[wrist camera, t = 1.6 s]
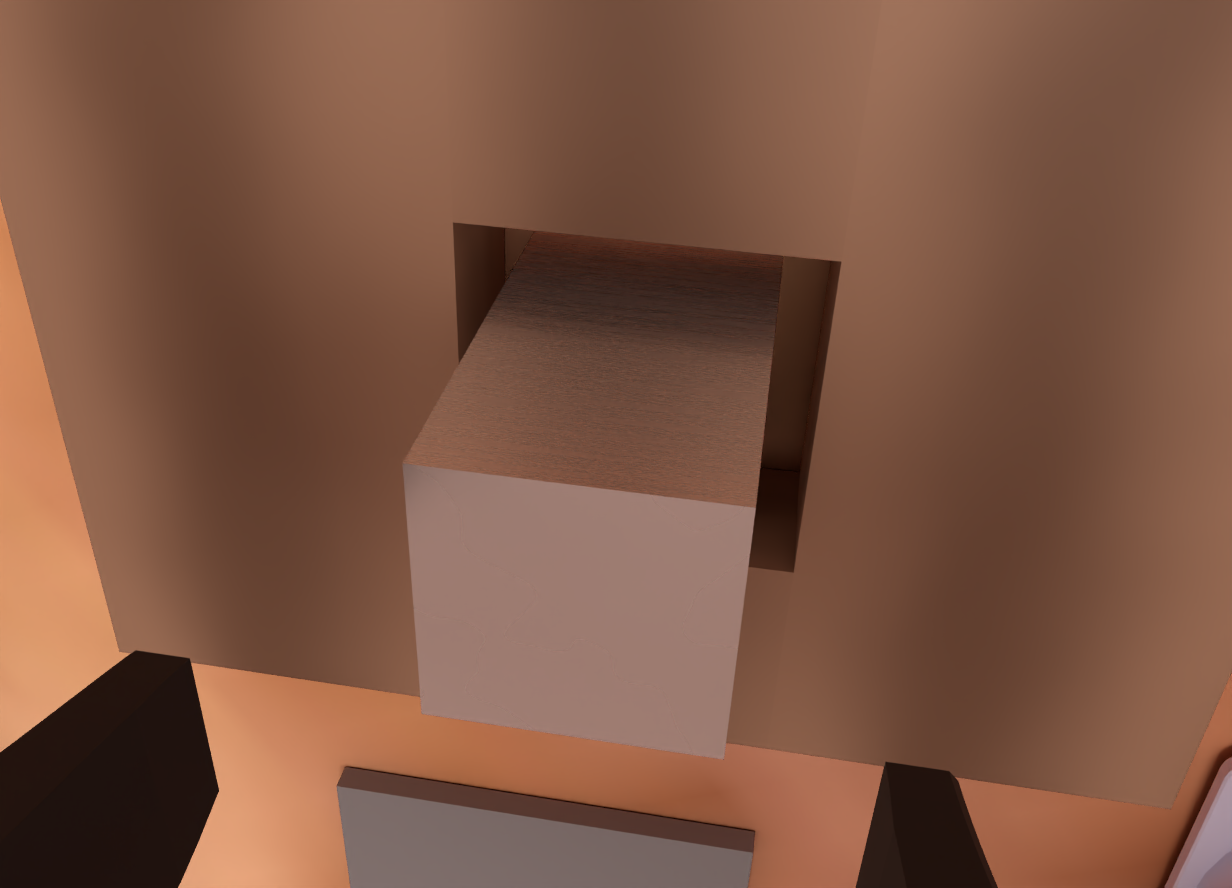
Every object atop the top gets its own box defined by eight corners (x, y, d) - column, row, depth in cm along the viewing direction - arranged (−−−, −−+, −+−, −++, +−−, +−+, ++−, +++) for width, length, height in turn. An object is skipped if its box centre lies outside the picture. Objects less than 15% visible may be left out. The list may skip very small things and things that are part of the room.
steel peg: (786, 227, 19) (756, 508, 13) (761, 429, 22) (723, 759, 15) (549, 203, 20) (403, 463, 13) (549, 404, 22) (422, 713, 15)
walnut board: (1427, -64, 16) (1536, -16, 13) (1136, 690, 23) (1170, 809, 21) (43, -154, 18) (-86, -128, 16) (190, 558, 26) (119, 651, 23)
